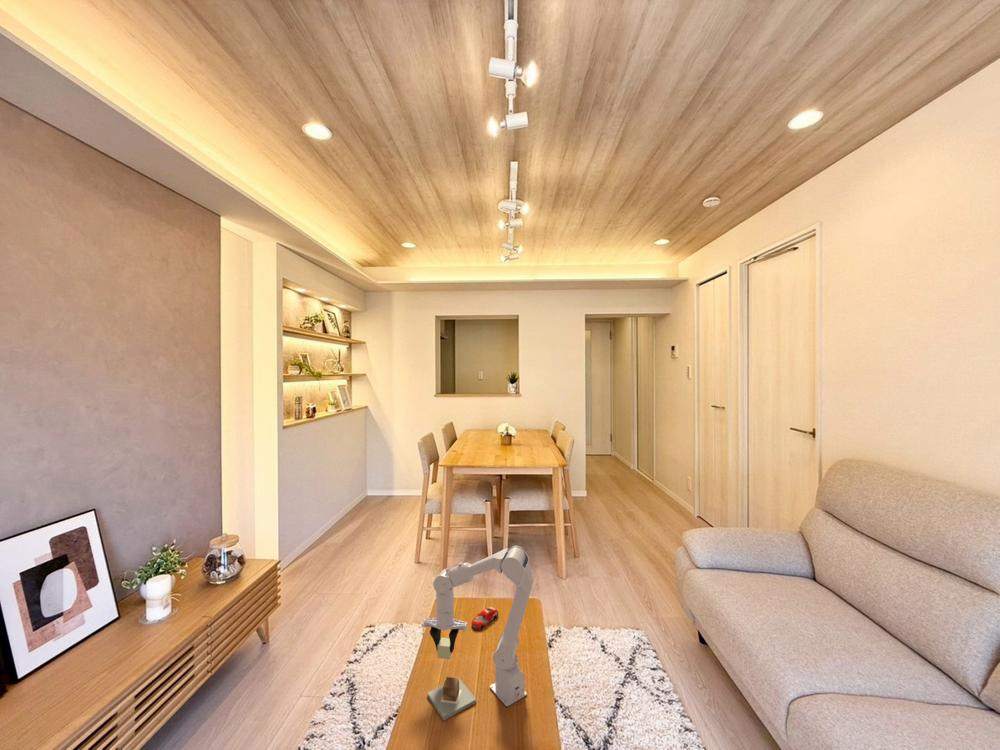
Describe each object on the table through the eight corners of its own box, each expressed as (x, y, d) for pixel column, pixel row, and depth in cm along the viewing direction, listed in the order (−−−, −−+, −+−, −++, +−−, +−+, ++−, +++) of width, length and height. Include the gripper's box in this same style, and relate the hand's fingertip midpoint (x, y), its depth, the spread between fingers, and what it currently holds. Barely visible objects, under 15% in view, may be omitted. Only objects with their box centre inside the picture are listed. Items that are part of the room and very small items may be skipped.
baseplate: (476, 702, 120) (475, 699, 120) (443, 720, 114) (443, 716, 114) (458, 680, 129) (458, 676, 129) (427, 696, 123) (427, 692, 123)
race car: (478, 632, 154) (478, 622, 154) (468, 627, 157) (468, 617, 157) (500, 617, 164) (500, 607, 164) (490, 612, 167) (490, 602, 167)
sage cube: (453, 650, 132) (452, 638, 132) (449, 659, 128) (449, 646, 128) (441, 649, 132) (441, 637, 132) (437, 657, 128) (437, 645, 128)
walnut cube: (459, 691, 123) (459, 678, 123) (455, 701, 119) (455, 688, 119) (446, 689, 124) (446, 676, 124) (442, 699, 120) (442, 686, 120)
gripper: (469, 603, 133) (469, 644, 133) (428, 599, 135) (428, 639, 135) (463, 616, 126) (464, 658, 126) (420, 611, 129) (421, 653, 128)
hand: (445, 650), depth 130 cm, fingers closed on sage cube, 4 cm apart
